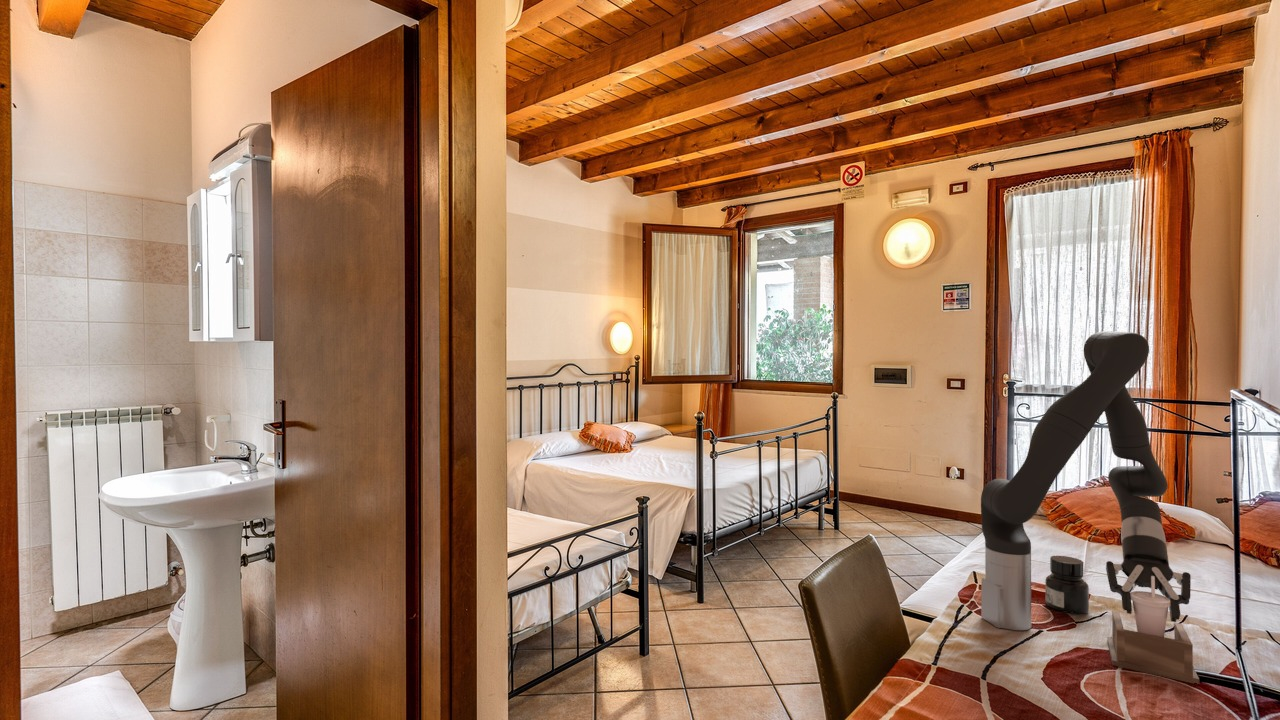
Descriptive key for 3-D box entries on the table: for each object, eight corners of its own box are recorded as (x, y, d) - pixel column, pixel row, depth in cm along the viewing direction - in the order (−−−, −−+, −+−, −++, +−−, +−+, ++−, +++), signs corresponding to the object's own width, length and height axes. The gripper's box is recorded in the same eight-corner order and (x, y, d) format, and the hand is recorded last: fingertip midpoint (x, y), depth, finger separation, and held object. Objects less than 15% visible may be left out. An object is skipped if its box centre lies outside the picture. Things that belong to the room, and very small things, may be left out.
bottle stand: (1107, 641, 132) (1107, 609, 132) (1186, 657, 125) (1186, 623, 125) (1112, 665, 121) (1112, 630, 121) (1199, 684, 114) (1199, 647, 114)
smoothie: (1162, 654, 119) (1161, 583, 119) (1124, 641, 124) (1123, 573, 125) (1177, 646, 122) (1176, 577, 122) (1139, 634, 127) (1138, 568, 128)
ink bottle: (1041, 598, 156) (1041, 552, 157) (1081, 603, 153) (1081, 556, 153) (1051, 612, 147) (1050, 563, 148) (1094, 618, 144) (1094, 568, 144)
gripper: (1102, 528, 133) (1107, 599, 124) (1189, 539, 125) (1201, 615, 115) (1101, 546, 138) (1105, 616, 128) (1185, 557, 130) (1196, 633, 120)
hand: (1151, 615), depth 122 cm, fingers closed on smoothie, 6 cm apart
